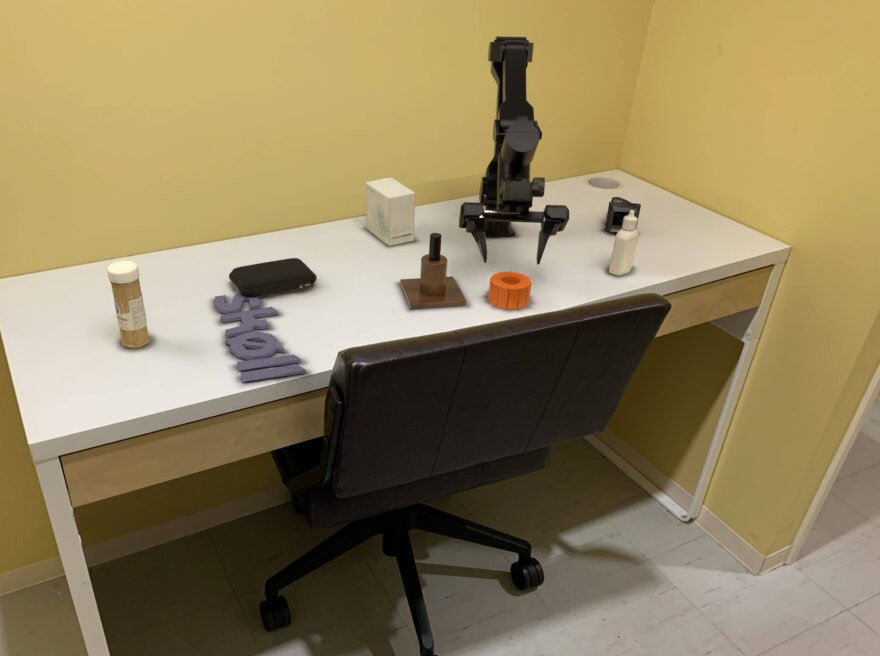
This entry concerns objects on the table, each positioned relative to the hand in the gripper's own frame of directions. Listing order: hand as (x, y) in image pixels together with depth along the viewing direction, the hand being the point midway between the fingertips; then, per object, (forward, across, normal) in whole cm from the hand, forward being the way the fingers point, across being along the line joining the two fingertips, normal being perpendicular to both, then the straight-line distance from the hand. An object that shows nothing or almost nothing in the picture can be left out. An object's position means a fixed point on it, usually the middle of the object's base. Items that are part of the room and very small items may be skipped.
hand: (511, 262), depth 134 cm
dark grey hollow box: (-20, +26, +30) cm, 45 cm away
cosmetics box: (-14, -23, +24) cm, 35 cm away
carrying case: (+4, -42, +5) cm, 43 cm away
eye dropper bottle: (-4, +22, +14) cm, 27 cm away
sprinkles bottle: (+20, -61, -10) cm, 65 cm away
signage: (+17, -43, -8) cm, 46 cm away
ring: (+6, 0, +4) cm, 7 cm away
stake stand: (+5, -14, +4) cm, 15 cm away
